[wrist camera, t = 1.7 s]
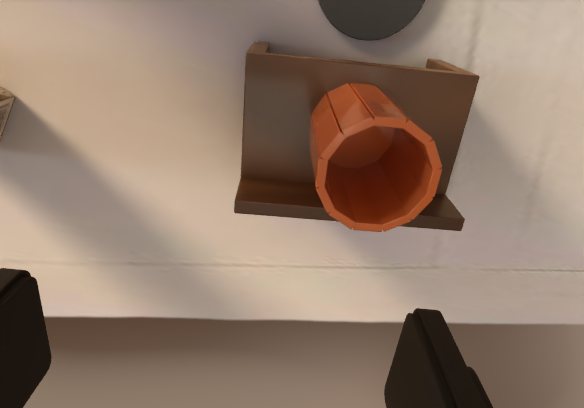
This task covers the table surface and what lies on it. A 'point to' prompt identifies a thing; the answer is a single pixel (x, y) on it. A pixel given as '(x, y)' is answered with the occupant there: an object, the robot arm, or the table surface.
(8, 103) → the coffee box
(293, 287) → the table surface
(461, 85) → the shelf
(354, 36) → the coaster
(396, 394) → the robot arm
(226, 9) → the table surface
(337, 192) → the cup
